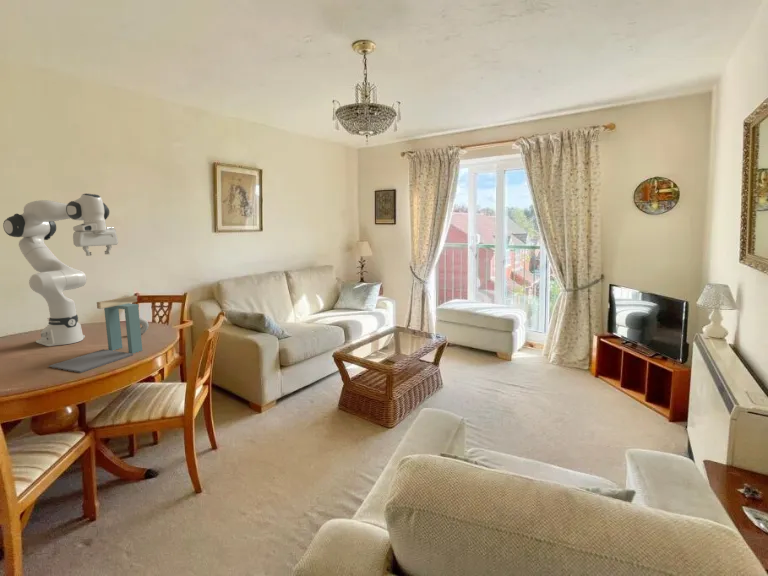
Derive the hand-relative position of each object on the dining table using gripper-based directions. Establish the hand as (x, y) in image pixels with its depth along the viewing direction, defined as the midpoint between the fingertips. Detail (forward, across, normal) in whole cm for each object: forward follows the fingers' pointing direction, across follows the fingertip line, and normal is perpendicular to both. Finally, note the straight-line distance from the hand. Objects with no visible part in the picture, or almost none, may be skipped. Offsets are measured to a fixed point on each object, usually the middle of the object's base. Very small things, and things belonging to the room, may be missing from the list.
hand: (98, 255), depth 198 cm
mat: (+48, +18, +13) cm, 53 cm away
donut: (+48, -24, -7) cm, 54 cm away
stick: (+24, +3, +13) cm, 28 cm away
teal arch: (+48, +1, +13) cm, 50 cm away
